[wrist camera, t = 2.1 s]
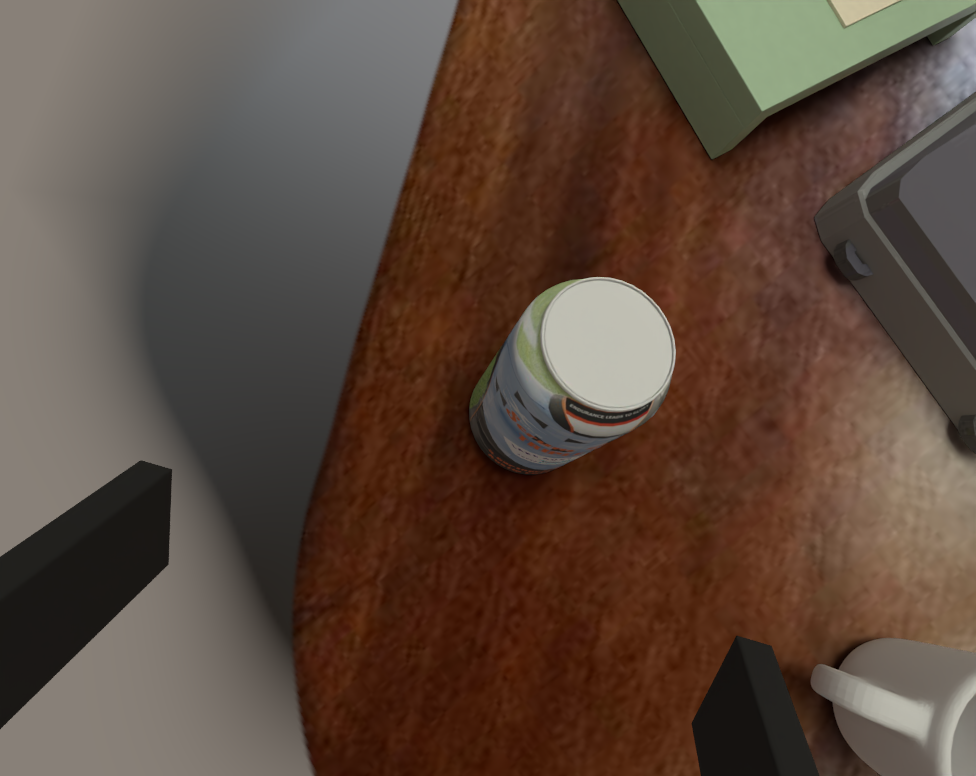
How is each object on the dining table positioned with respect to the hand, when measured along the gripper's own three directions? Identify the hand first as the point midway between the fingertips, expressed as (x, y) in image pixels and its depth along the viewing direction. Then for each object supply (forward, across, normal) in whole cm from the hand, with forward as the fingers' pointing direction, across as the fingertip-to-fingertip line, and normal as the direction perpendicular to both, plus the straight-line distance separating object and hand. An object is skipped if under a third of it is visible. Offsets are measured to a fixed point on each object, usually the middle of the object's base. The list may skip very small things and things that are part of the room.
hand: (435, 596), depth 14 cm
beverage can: (+19, +1, -3) cm, 19 cm away
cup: (+17, +22, -13) cm, 31 cm away
